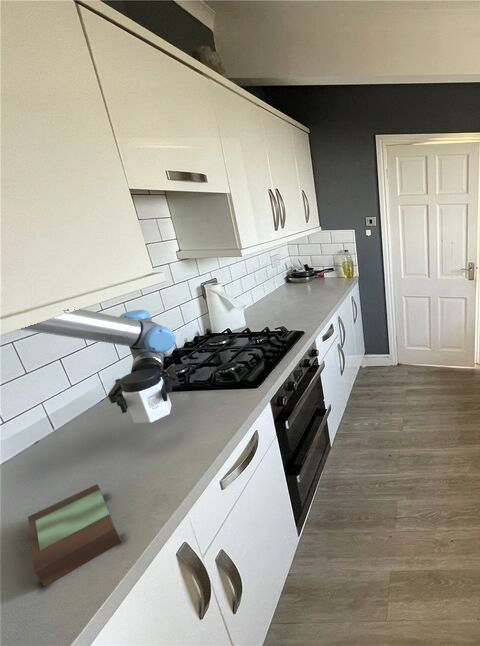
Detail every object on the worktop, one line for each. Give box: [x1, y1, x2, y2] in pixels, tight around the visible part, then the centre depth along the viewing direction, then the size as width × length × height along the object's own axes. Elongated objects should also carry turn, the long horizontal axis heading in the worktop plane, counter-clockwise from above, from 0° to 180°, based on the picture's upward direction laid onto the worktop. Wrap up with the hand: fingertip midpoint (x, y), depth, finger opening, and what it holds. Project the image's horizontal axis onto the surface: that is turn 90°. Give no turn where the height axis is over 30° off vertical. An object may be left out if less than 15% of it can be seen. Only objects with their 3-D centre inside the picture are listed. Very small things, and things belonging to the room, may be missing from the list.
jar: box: [119, 369, 173, 424], centre depth 92 cm, size 9×8×12 cm
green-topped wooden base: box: [27, 483, 122, 588], centre depth 72 cm, size 18×11×5 cm, turn 50°
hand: (144, 402), depth 88 cm, fingers closed on jar, 8 cm apart
